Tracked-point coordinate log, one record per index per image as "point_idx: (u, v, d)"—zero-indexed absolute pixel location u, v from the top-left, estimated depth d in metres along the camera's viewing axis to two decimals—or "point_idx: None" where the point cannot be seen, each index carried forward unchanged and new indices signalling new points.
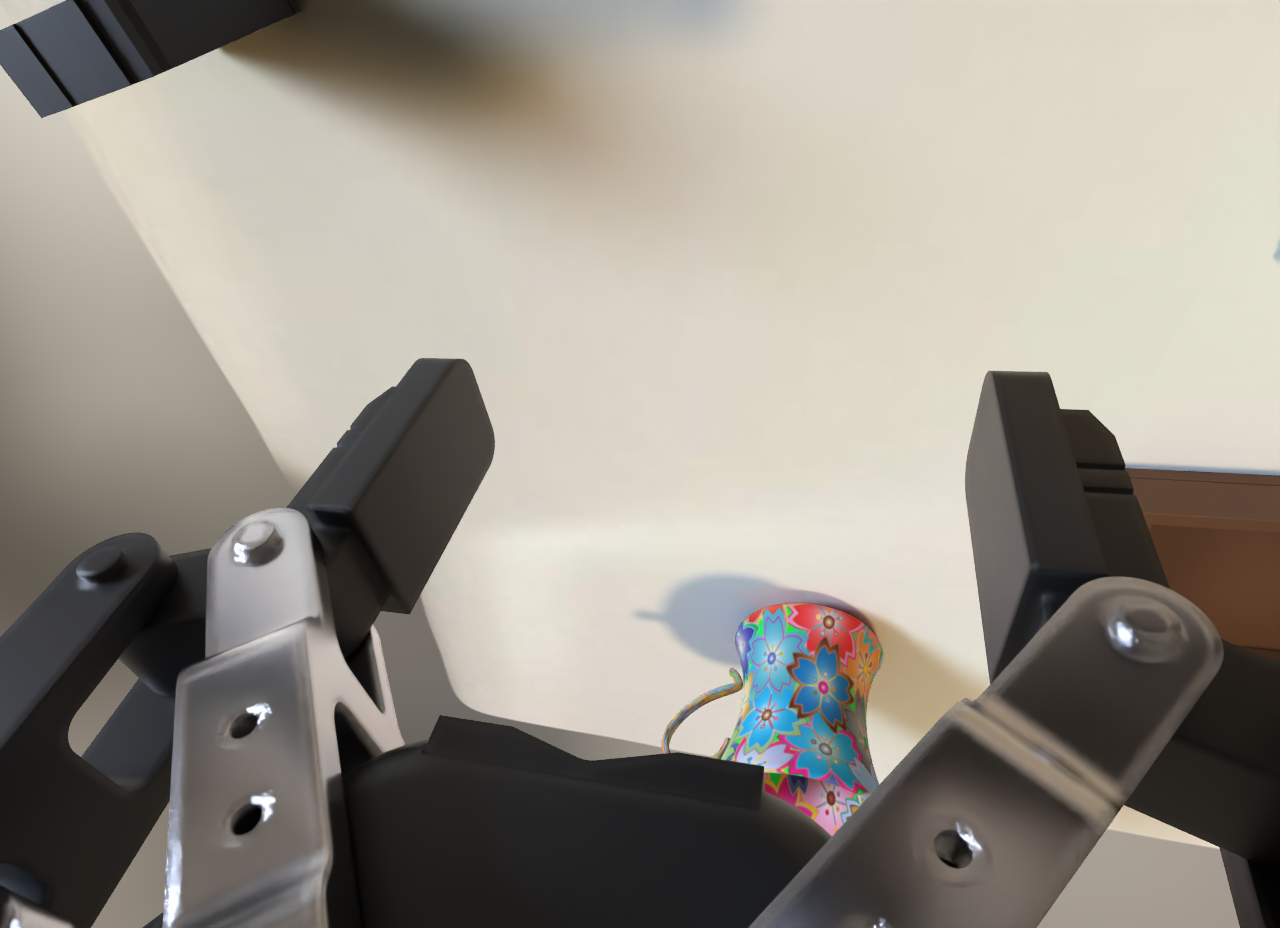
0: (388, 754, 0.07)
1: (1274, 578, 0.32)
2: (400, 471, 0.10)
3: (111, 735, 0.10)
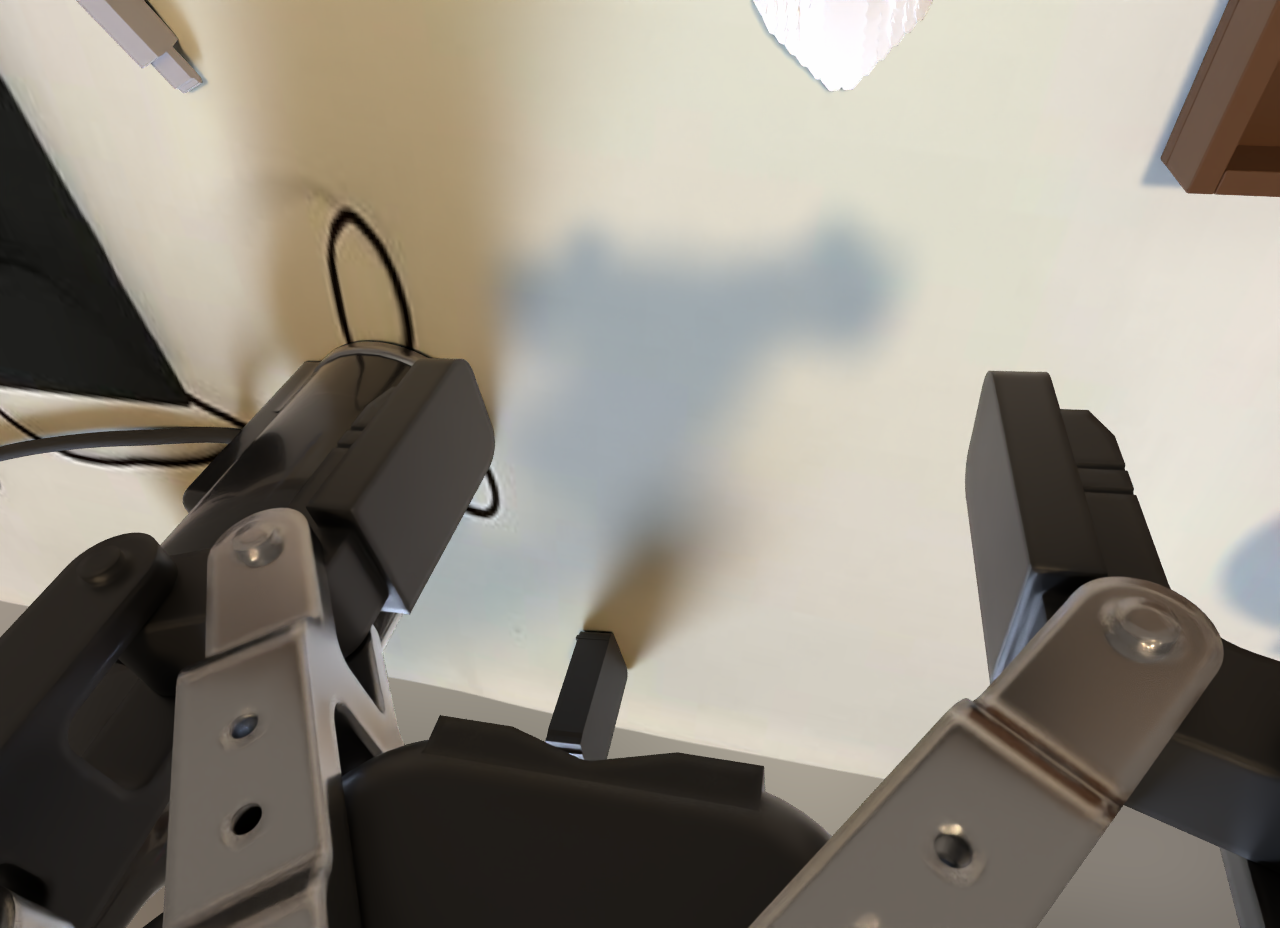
0: (388, 754, 0.07)
1: None
2: (400, 471, 0.10)
3: (111, 735, 0.10)
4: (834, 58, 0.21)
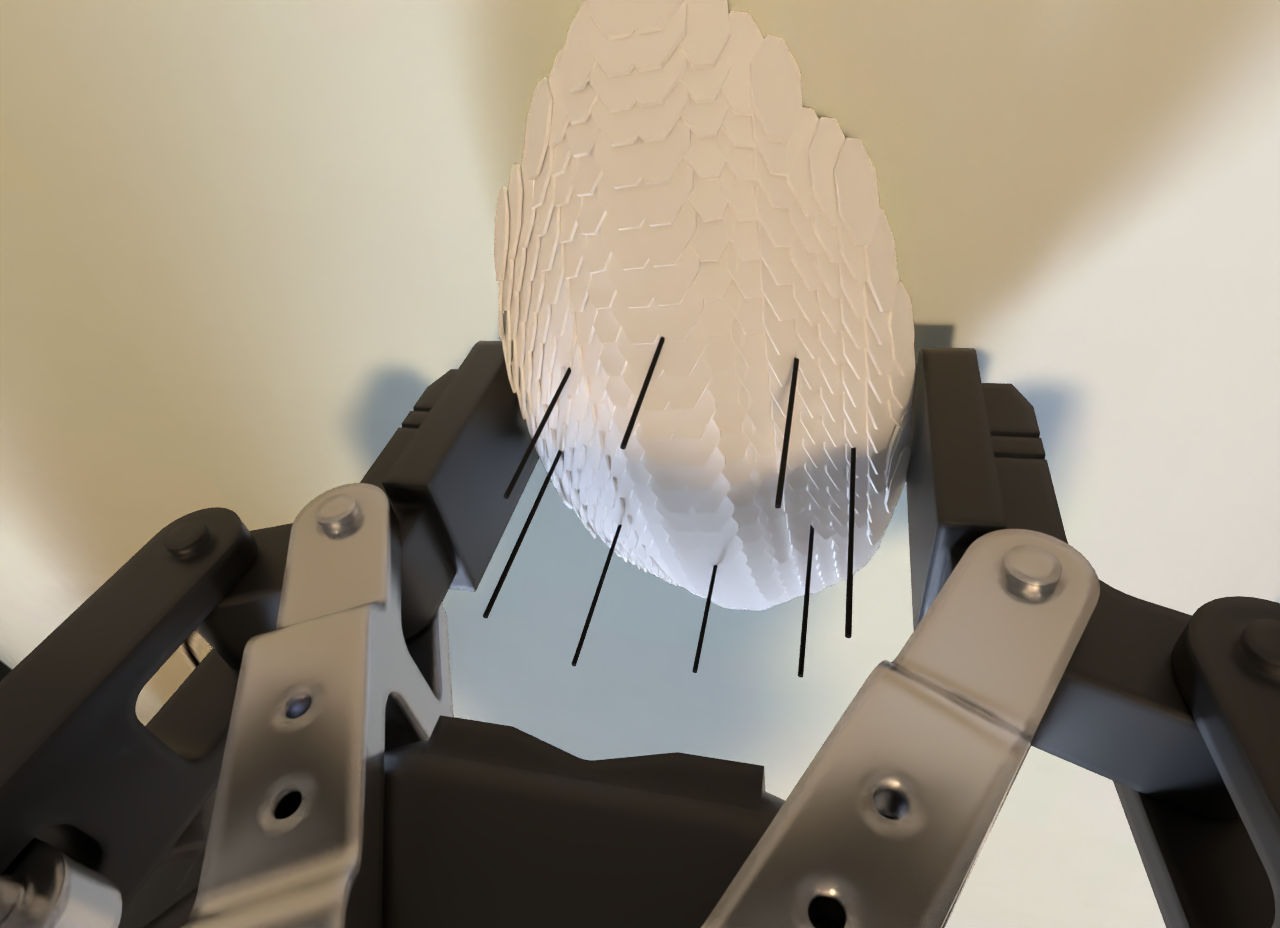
0: (432, 753, 0.07)
1: None
2: (469, 450, 0.10)
3: (182, 699, 0.10)
4: None
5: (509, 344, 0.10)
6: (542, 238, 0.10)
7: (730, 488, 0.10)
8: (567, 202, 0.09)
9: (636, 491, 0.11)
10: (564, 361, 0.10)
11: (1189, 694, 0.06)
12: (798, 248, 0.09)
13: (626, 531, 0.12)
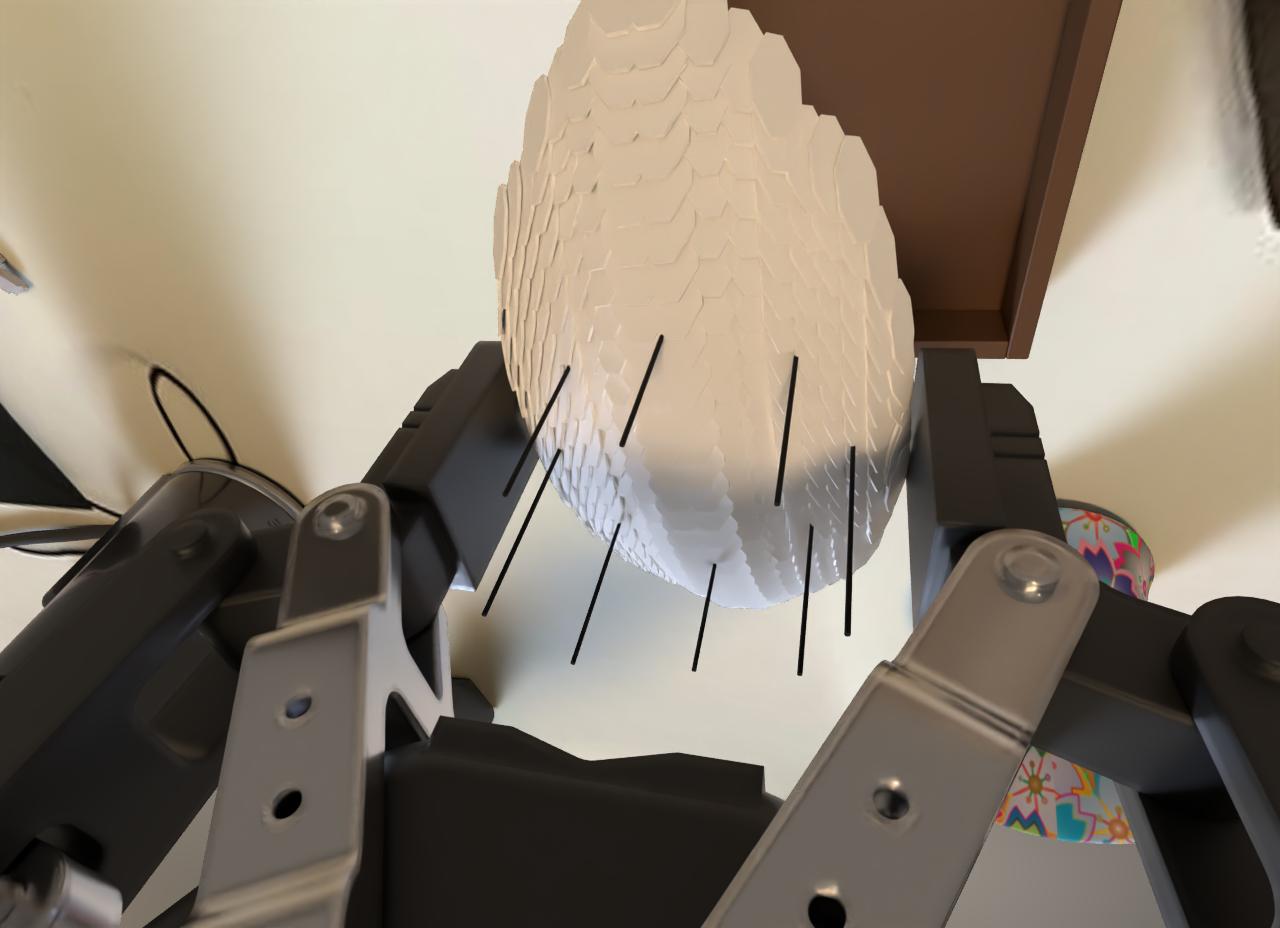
0: (432, 753, 0.07)
1: (858, 119, 0.22)
2: (469, 450, 0.10)
3: (183, 700, 0.10)
4: None
5: (508, 342, 0.10)
6: (542, 236, 0.10)
7: (729, 486, 0.10)
8: (566, 200, 0.09)
9: (635, 490, 0.11)
10: (563, 359, 0.10)
11: (1188, 694, 0.06)
12: (797, 246, 0.09)
13: (625, 530, 0.12)
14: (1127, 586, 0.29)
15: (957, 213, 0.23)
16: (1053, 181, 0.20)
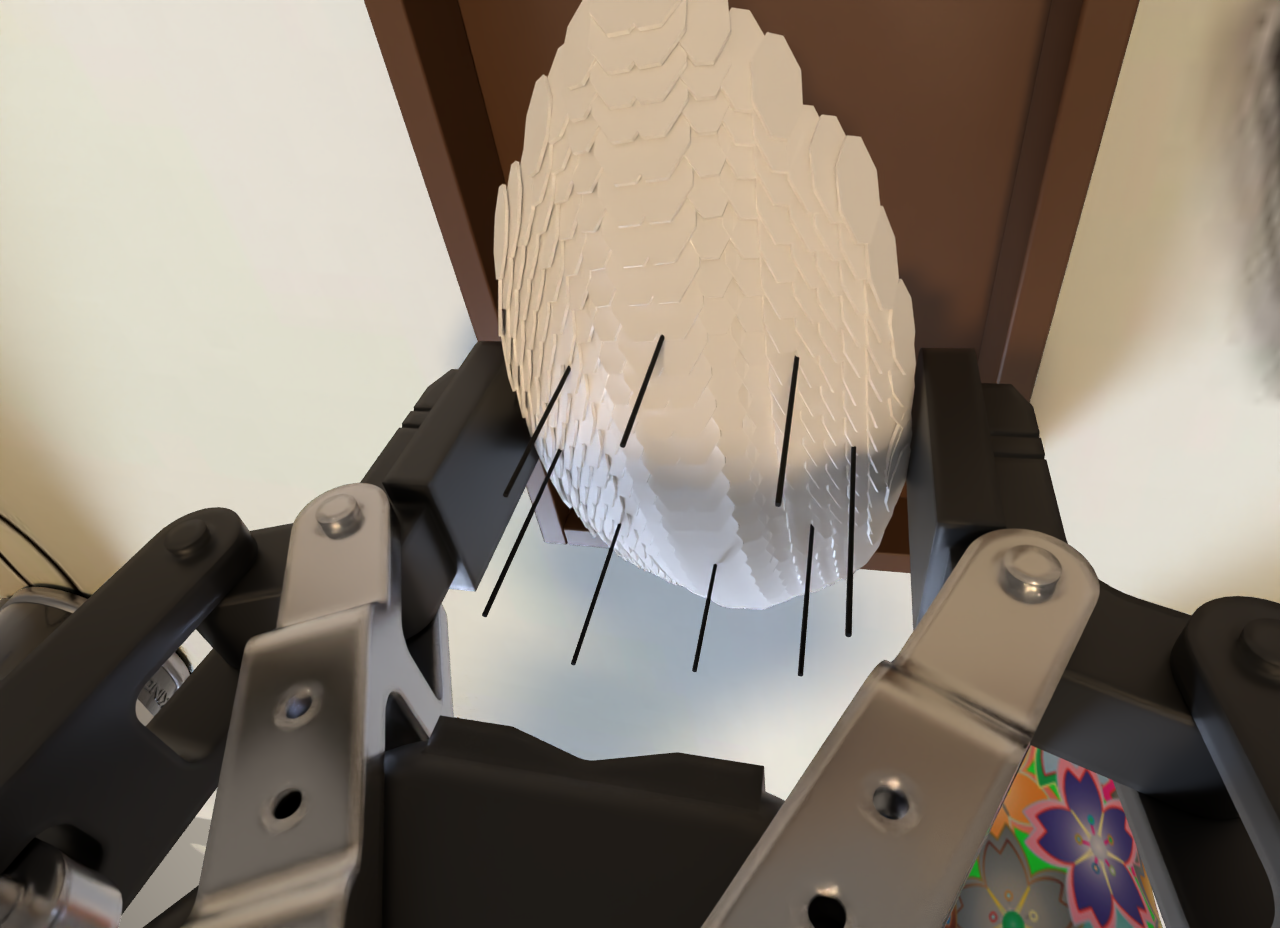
0: (432, 753, 0.07)
1: None
2: (469, 450, 0.10)
3: (183, 699, 0.10)
4: None
5: (508, 342, 0.10)
6: (542, 236, 0.10)
7: (729, 487, 0.10)
8: (567, 200, 0.09)
9: (636, 490, 0.11)
10: (564, 359, 0.10)
11: (1188, 694, 0.06)
12: (798, 246, 0.09)
13: (626, 530, 0.12)
14: (1119, 823, 0.22)
15: None
16: (1004, 380, 0.14)
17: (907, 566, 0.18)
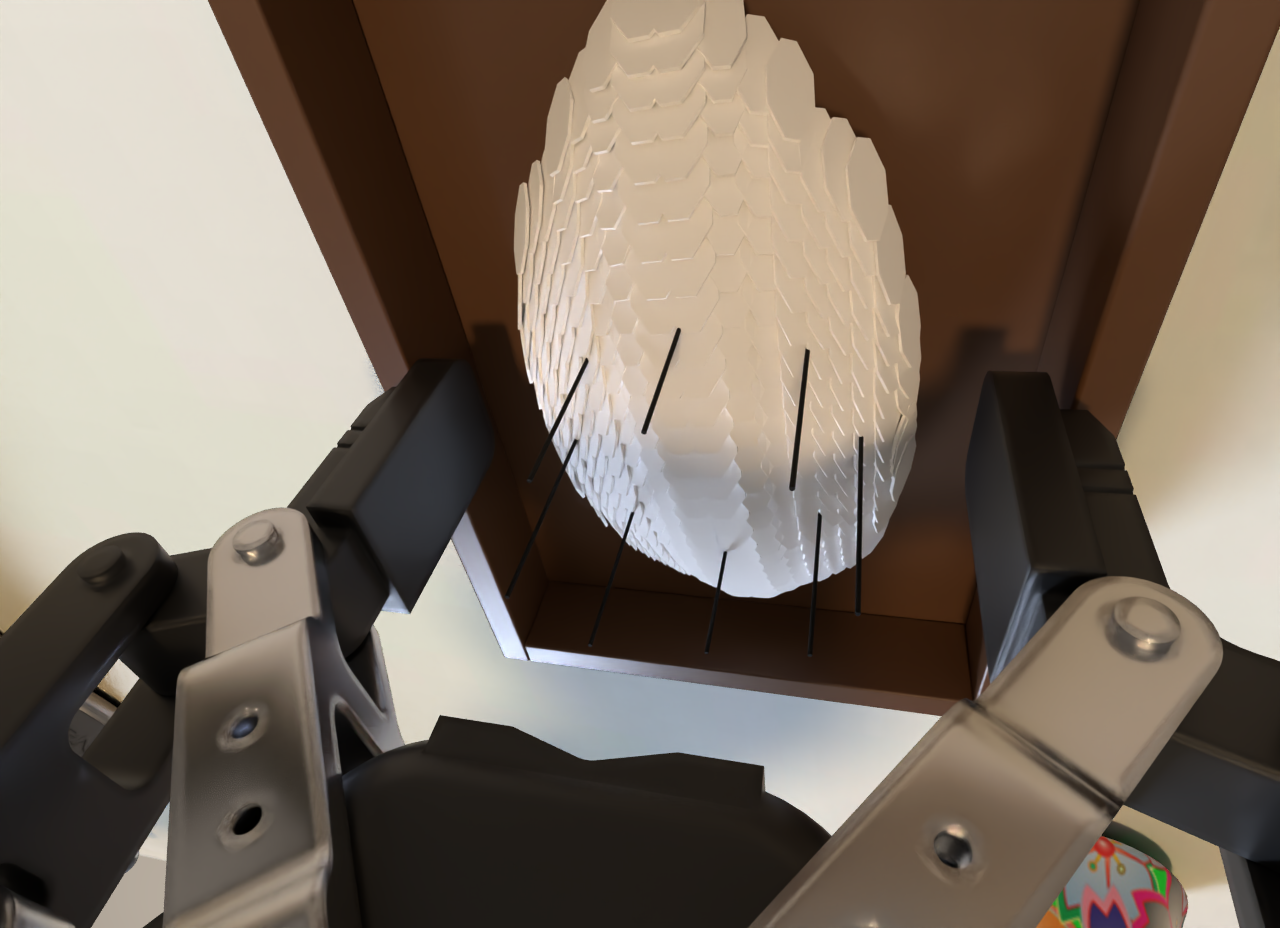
0: (388, 754, 0.07)
1: None
2: (400, 471, 0.10)
3: (112, 735, 0.10)
4: None
5: (528, 336, 0.11)
6: (562, 232, 0.10)
7: (741, 475, 0.11)
8: (587, 198, 0.09)
9: (650, 479, 0.11)
10: (582, 352, 0.10)
11: None
12: (810, 243, 0.09)
13: (639, 518, 0.12)
14: None
15: None
16: None
17: (917, 707, 0.16)
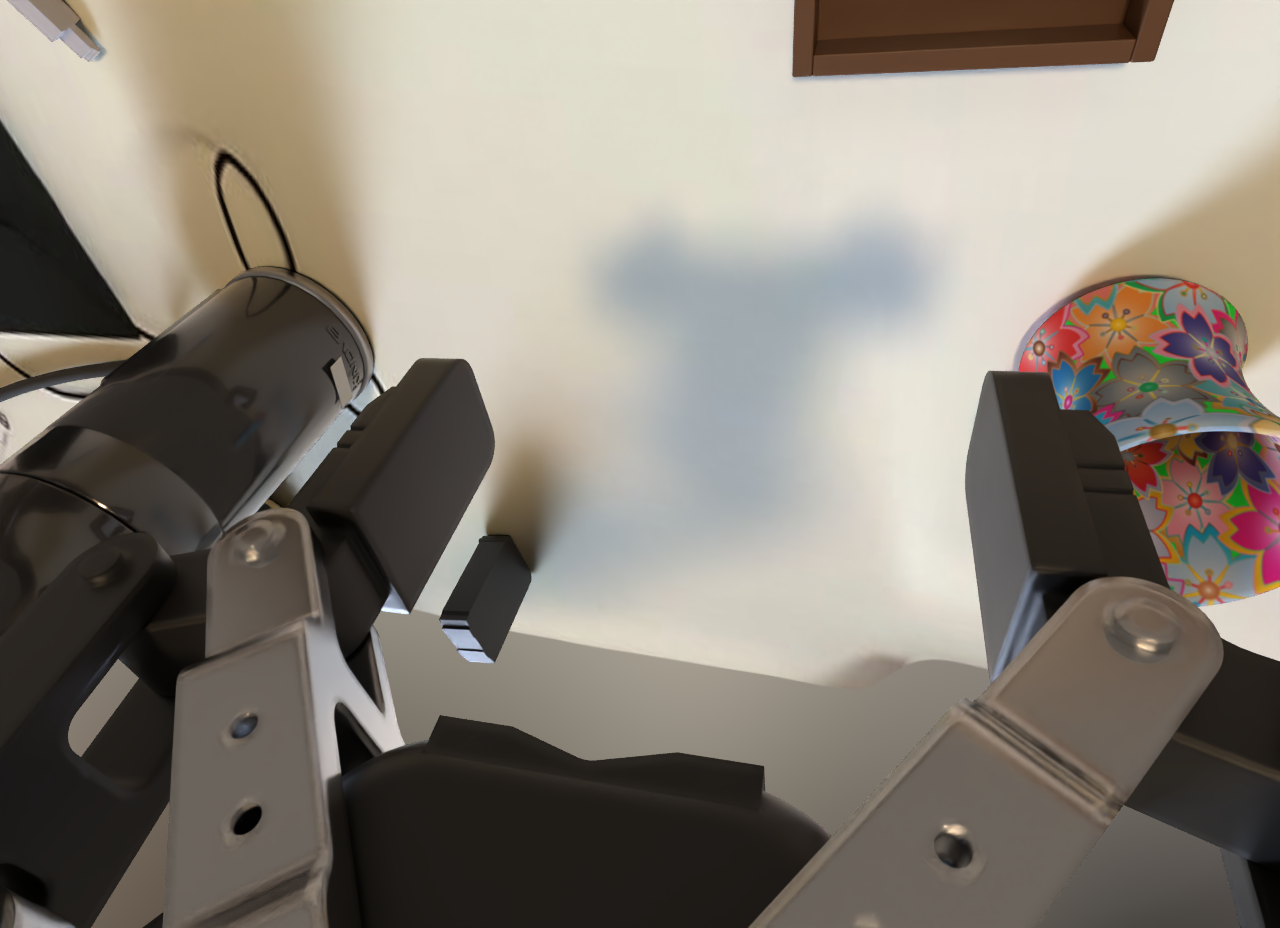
0: (388, 754, 0.07)
1: None
2: (400, 471, 0.10)
3: (111, 735, 0.10)
4: None
5: None
6: None
7: None
8: None
9: None
10: None
11: None
12: None
13: None
14: (1226, 348, 0.28)
15: None
16: None
17: (1096, 55, 0.24)
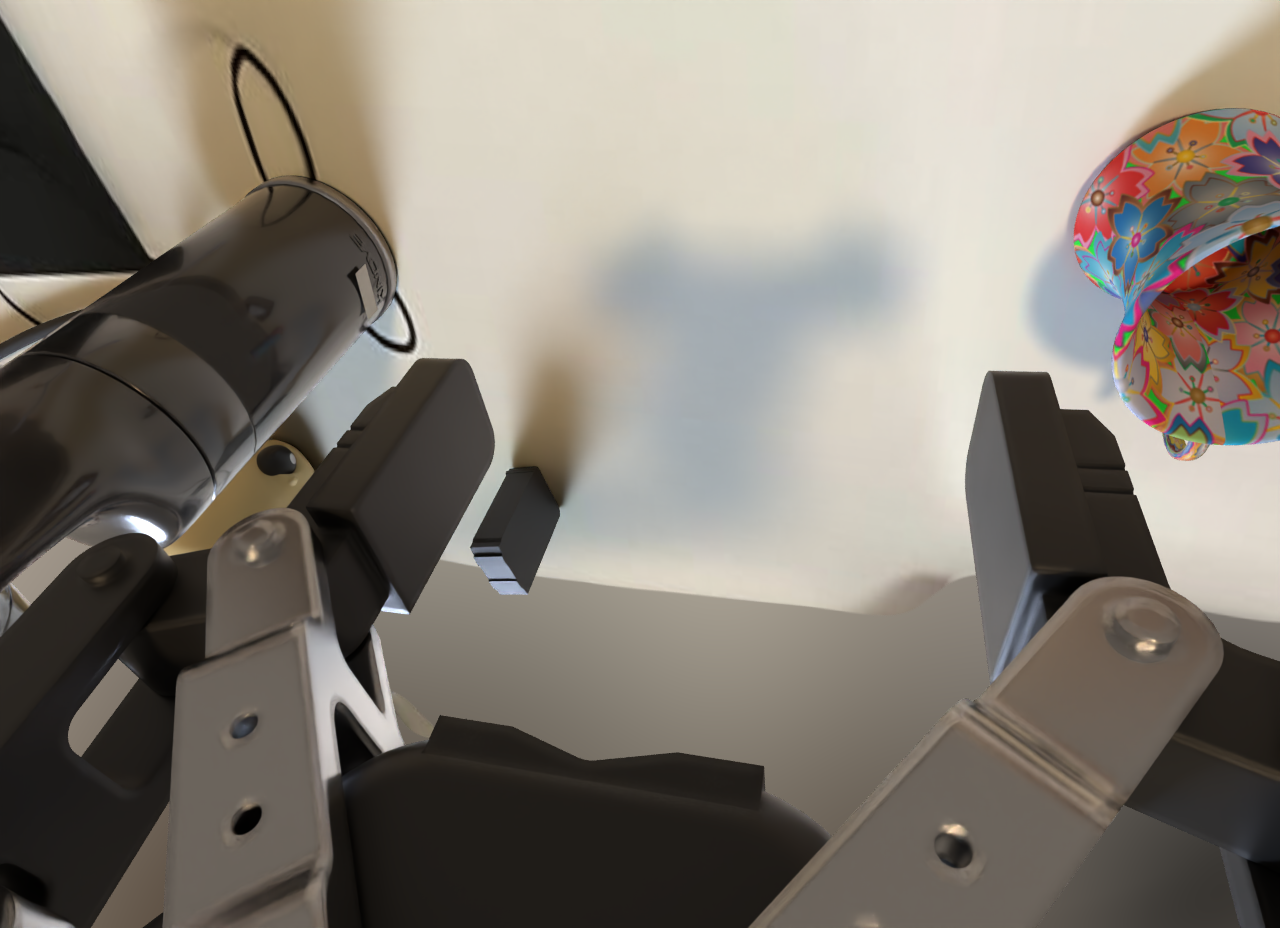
0: (387, 754, 0.07)
1: None
2: (400, 471, 0.10)
3: (111, 735, 0.10)
4: None
5: None
6: None
7: None
8: None
9: None
10: None
11: None
12: None
13: None
14: None
15: None
16: None
17: None
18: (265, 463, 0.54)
